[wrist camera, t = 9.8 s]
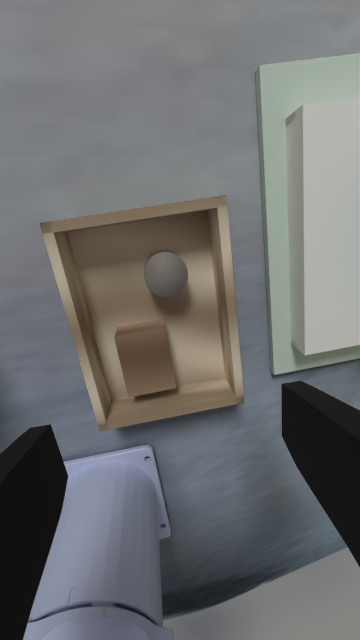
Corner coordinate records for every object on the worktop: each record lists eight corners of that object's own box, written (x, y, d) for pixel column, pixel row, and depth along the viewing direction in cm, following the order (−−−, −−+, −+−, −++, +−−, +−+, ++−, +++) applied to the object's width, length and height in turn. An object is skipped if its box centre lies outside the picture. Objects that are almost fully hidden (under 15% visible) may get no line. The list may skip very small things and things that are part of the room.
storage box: (230, 378, 20) (244, 402, 18) (106, 402, 20) (99, 431, 17) (212, 201, 17) (226, 195, 14) (58, 224, 16) (39, 222, 13)
